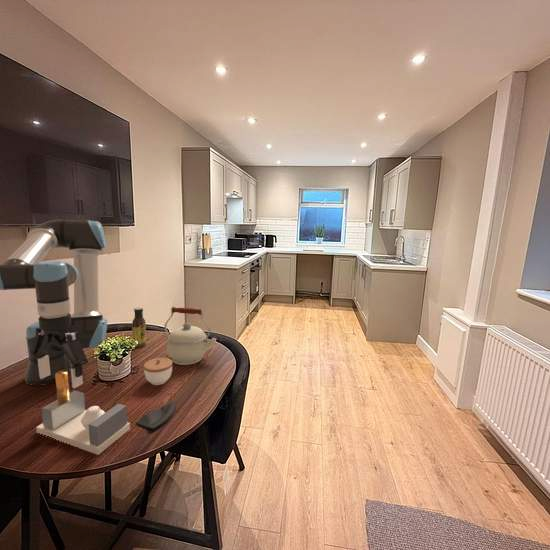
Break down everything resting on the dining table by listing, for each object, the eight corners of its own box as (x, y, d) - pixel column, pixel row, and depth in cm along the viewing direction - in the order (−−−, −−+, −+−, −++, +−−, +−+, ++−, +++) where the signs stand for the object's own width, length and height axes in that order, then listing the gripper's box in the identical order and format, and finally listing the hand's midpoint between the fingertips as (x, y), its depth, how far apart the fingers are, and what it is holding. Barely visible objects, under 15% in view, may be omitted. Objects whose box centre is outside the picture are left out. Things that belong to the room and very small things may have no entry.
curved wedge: (185, 409, 100) (185, 405, 99) (153, 433, 88) (153, 428, 87) (168, 402, 103) (168, 398, 103) (135, 424, 91) (134, 420, 91)
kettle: (155, 365, 129) (154, 311, 125) (174, 348, 147) (173, 301, 143) (209, 370, 127) (209, 315, 123) (221, 352, 145) (222, 304, 141)
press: (36, 433, 85) (34, 408, 84) (72, 411, 96) (71, 389, 94) (98, 455, 78) (96, 428, 77) (130, 429, 88) (129, 405, 87)
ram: (43, 426, 85) (38, 379, 82) (76, 407, 94) (72, 364, 92) (53, 429, 84) (48, 382, 81) (85, 410, 93) (81, 366, 91)
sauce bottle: (143, 348, 147) (142, 310, 144) (130, 348, 146) (129, 310, 143) (148, 343, 153) (146, 307, 150) (136, 343, 153) (134, 306, 149)
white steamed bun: (88, 438, 81) (87, 416, 80) (77, 430, 84) (75, 408, 83) (110, 426, 86) (109, 405, 85) (99, 418, 90) (98, 398, 88)
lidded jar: (163, 390, 110) (162, 367, 109) (138, 386, 112) (137, 363, 111) (177, 376, 120) (177, 355, 119) (155, 373, 122) (154, 352, 121)
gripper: (10, 312, 84) (19, 378, 88) (74, 324, 77) (80, 396, 80) (38, 305, 91) (45, 367, 95) (98, 316, 84) (103, 383, 87)
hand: (61, 381), depth 88 cm, fingers open, 13 cm apart
